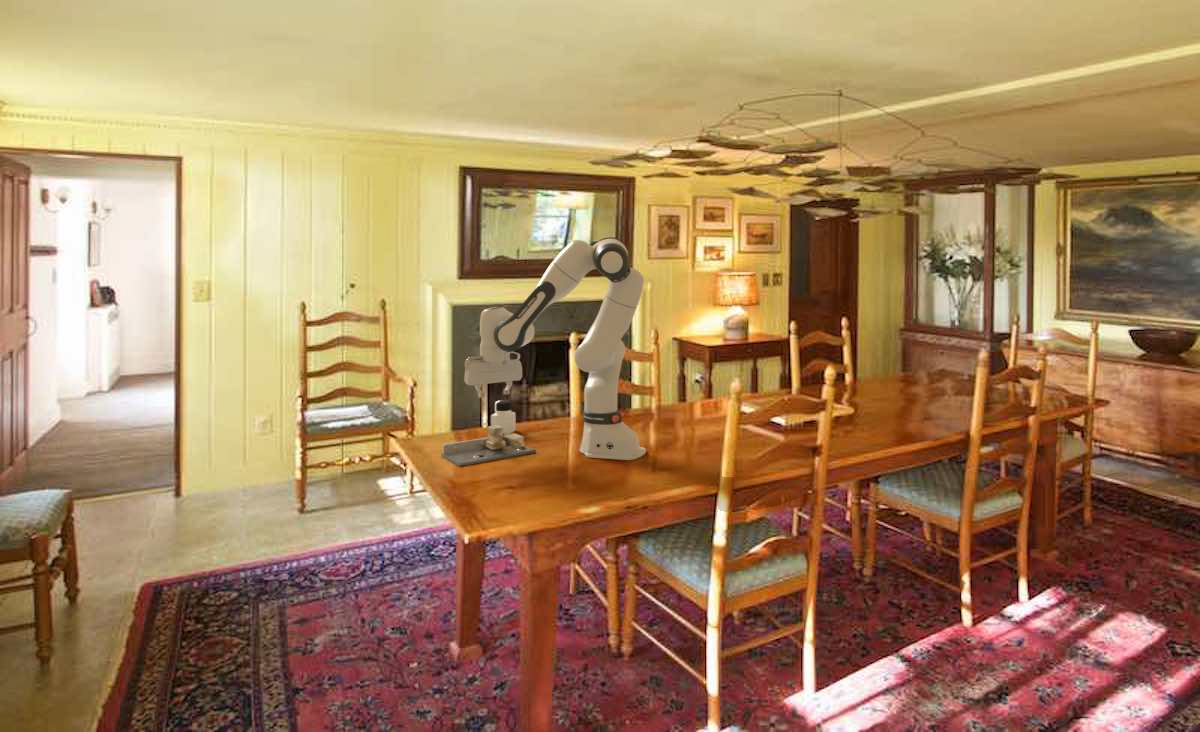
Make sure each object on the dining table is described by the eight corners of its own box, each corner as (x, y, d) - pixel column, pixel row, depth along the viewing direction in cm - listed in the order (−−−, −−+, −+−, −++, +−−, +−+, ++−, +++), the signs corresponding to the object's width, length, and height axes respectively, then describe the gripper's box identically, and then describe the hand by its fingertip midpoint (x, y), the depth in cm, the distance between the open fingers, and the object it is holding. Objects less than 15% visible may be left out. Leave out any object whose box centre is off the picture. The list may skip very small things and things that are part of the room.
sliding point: (498, 444, 258) (498, 424, 257) (511, 450, 250) (511, 430, 249) (485, 446, 255) (485, 426, 254) (498, 452, 247) (498, 432, 246)
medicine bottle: (516, 430, 282) (515, 399, 280) (508, 435, 275) (508, 403, 274) (498, 429, 284) (497, 398, 282) (490, 433, 277) (490, 402, 275)
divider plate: (515, 443, 263) (515, 432, 263) (535, 452, 252) (535, 441, 251) (441, 456, 248) (440, 444, 247) (459, 466, 236) (458, 454, 236)
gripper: (468, 358, 241) (469, 400, 243) (524, 354, 252) (524, 394, 255) (460, 356, 246) (461, 397, 248) (515, 351, 257) (515, 391, 260)
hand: (493, 395), depth 251 cm, fingers open, 8 cm apart
